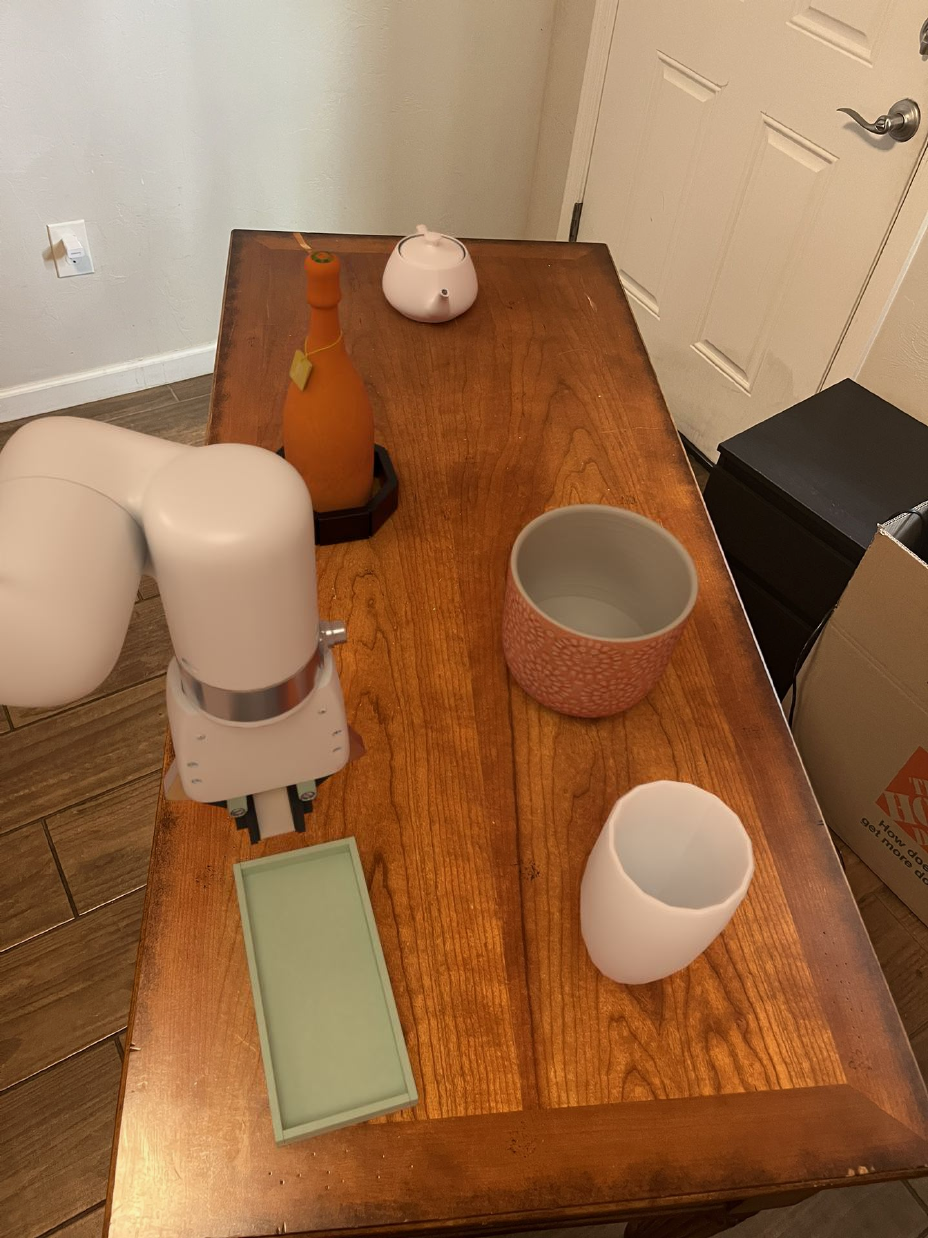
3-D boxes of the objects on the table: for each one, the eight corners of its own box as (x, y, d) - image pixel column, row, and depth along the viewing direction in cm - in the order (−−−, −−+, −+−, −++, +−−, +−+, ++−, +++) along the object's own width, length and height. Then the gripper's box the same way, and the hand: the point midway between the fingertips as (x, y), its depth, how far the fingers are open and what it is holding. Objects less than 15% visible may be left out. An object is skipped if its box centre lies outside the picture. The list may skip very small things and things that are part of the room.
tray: (277, 1148, 66) (275, 1142, 65) (234, 874, 79) (232, 864, 77) (417, 1105, 69) (418, 1098, 67) (354, 846, 81) (354, 836, 80)
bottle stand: (280, 552, 103) (277, 526, 100) (259, 467, 112) (256, 440, 109) (407, 533, 107) (408, 507, 103) (377, 451, 115) (378, 425, 112)
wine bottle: (298, 464, 112) (281, 222, 90) (380, 475, 112) (383, 235, 90) (279, 520, 106) (255, 275, 83) (365, 532, 106) (365, 290, 83)
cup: (523, 973, 75) (567, 850, 59) (596, 881, 81) (654, 745, 65) (631, 1063, 72) (710, 958, 55) (700, 961, 77) (790, 838, 61)
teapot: (373, 269, 142) (374, 198, 134) (462, 266, 145) (467, 198, 137) (393, 353, 129) (395, 281, 120) (490, 349, 131) (499, 278, 123)
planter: (477, 615, 99) (492, 509, 88) (629, 600, 103) (663, 496, 91) (513, 751, 89) (535, 651, 77) (682, 730, 92) (727, 631, 80)
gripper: (378, 579, 55) (374, 749, 69) (87, 631, 51) (147, 800, 65) (413, 679, 50) (402, 839, 64) (98, 745, 46) (159, 901, 60)
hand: (274, 819), depth 64 cm, fingers closed on brush, 2 cm apart
